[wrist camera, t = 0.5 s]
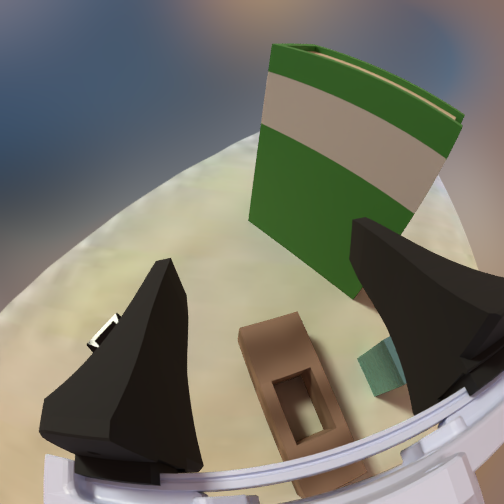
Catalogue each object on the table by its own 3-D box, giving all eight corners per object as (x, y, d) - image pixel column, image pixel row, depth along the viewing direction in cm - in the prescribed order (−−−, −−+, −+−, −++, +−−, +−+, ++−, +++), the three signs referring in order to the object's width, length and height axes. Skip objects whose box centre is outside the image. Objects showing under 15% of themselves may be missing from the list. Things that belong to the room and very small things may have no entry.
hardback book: (376, 265, 36) (464, 114, 17) (352, 299, 32) (462, 127, 14) (281, 197, 42) (313, 44, 24) (248, 220, 39) (272, 43, 20)
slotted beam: (351, 469, 20) (367, 471, 17) (297, 494, 18) (307, 501, 15) (289, 325, 30) (297, 311, 27) (237, 340, 28) (239, 328, 25)
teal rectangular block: (390, 387, 26) (421, 373, 21) (374, 396, 25) (404, 384, 20) (373, 350, 28) (400, 331, 24) (357, 358, 28) (383, 339, 23)
